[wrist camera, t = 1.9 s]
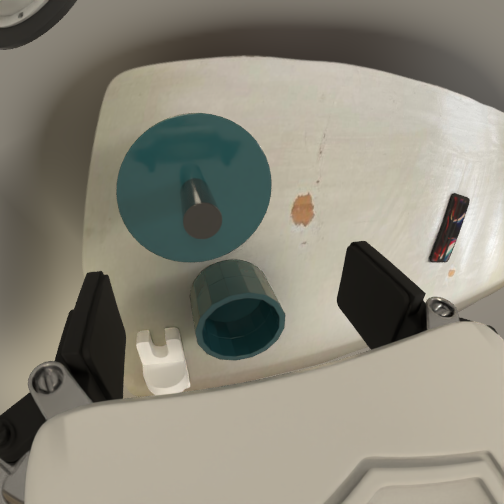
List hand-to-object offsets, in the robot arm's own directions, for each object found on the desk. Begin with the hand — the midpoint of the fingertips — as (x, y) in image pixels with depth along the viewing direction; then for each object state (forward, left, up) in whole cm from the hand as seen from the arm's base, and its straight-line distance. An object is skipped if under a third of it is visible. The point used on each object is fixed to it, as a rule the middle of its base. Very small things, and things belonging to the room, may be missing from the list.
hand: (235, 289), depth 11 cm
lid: (0, -1, -14) cm, 14 cm away
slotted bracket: (+4, -32, -26) cm, 42 cm away
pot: (+11, -17, -26) cm, 33 cm away
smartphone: (+51, +5, -26) cm, 57 cm away
